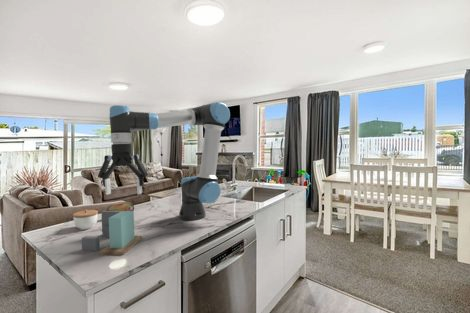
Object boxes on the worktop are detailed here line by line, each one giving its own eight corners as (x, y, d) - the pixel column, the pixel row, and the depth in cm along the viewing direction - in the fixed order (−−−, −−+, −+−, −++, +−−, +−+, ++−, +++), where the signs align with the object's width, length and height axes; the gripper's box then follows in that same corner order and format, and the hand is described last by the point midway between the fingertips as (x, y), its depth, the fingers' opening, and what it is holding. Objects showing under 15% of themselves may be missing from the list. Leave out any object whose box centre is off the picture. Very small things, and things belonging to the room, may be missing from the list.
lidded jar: (87, 223, 128) (86, 206, 128) (103, 225, 125) (102, 207, 125) (68, 230, 118) (67, 211, 118) (85, 232, 115) (84, 213, 115)
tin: (108, 220, 132) (107, 205, 132) (106, 219, 134) (105, 205, 134) (134, 214, 144) (134, 200, 143) (132, 213, 146) (131, 200, 145)
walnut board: (142, 238, 106) (142, 235, 106) (122, 254, 90) (122, 251, 90) (122, 238, 107) (122, 235, 107) (100, 254, 91) (100, 251, 91)
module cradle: (124, 234, 111) (123, 211, 111) (101, 250, 94) (100, 223, 94) (104, 234, 112) (103, 211, 111) (77, 250, 95) (75, 223, 94)
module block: (134, 238, 103) (133, 210, 103) (122, 248, 93) (120, 218, 93) (123, 238, 104) (122, 210, 103) (109, 248, 94) (108, 218, 93)
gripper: (86, 144, 96) (89, 196, 97) (146, 142, 95) (149, 195, 96) (97, 144, 103) (100, 192, 105) (154, 142, 102) (156, 191, 103)
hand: (124, 194), depth 100 cm, fingers open, 13 cm apart
